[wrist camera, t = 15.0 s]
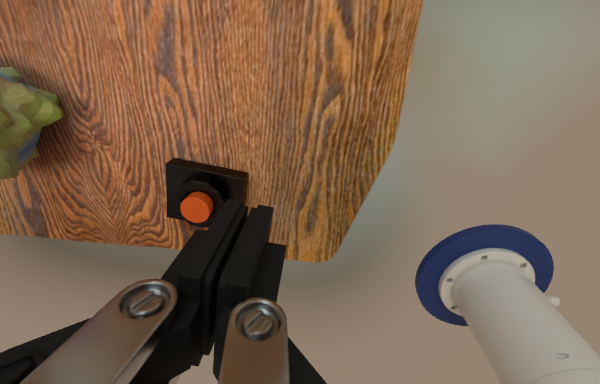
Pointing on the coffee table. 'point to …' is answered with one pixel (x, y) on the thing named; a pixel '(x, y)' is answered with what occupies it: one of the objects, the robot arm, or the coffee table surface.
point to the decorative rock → (22, 120)
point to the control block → (202, 186)
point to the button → (197, 207)
